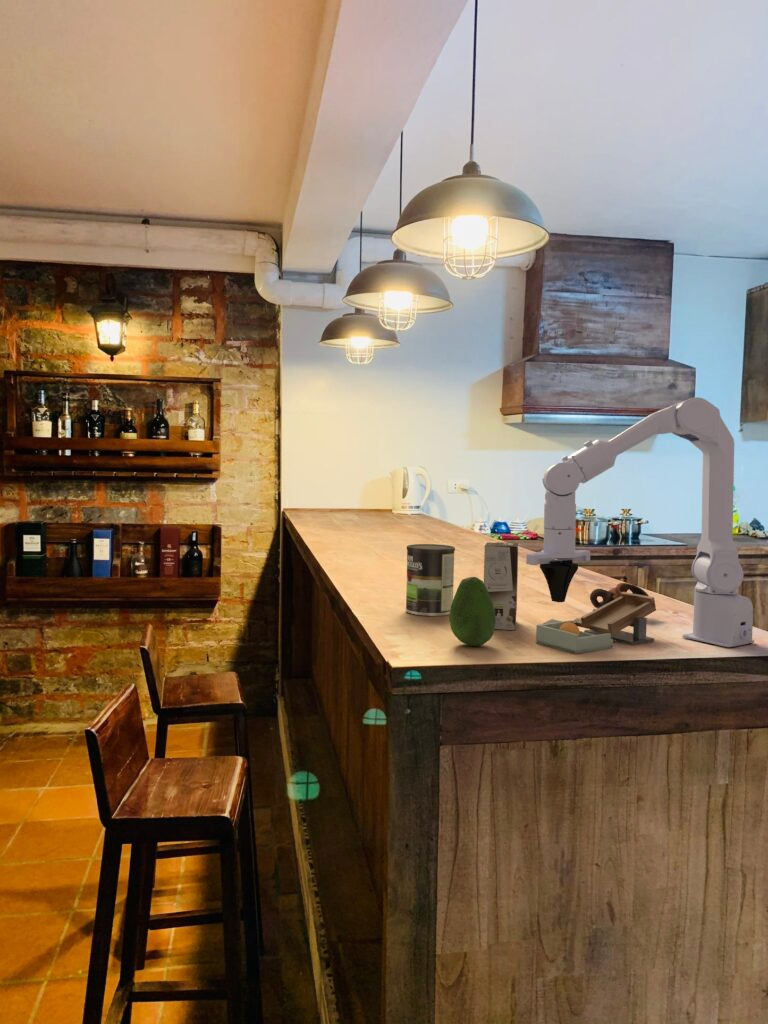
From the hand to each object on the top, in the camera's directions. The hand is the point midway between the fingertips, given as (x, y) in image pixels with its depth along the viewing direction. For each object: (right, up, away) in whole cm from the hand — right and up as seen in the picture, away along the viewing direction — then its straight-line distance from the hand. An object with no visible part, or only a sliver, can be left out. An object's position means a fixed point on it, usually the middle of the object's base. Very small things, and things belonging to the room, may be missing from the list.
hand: (558, 601), depth 139 cm
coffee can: (-23, -5, +21) cm, 31 cm away
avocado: (-17, -7, -10) cm, 21 cm away
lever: (+8, -4, 0) cm, 9 cm away
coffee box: (-10, -6, +8) cm, 14 cm away
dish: (+1, -7, -8) cm, 11 cm away
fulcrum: (+11, -6, -2) cm, 13 cm away
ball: (0, -4, -9) cm, 10 cm away
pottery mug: (+17, -6, +18) cm, 25 cm away
